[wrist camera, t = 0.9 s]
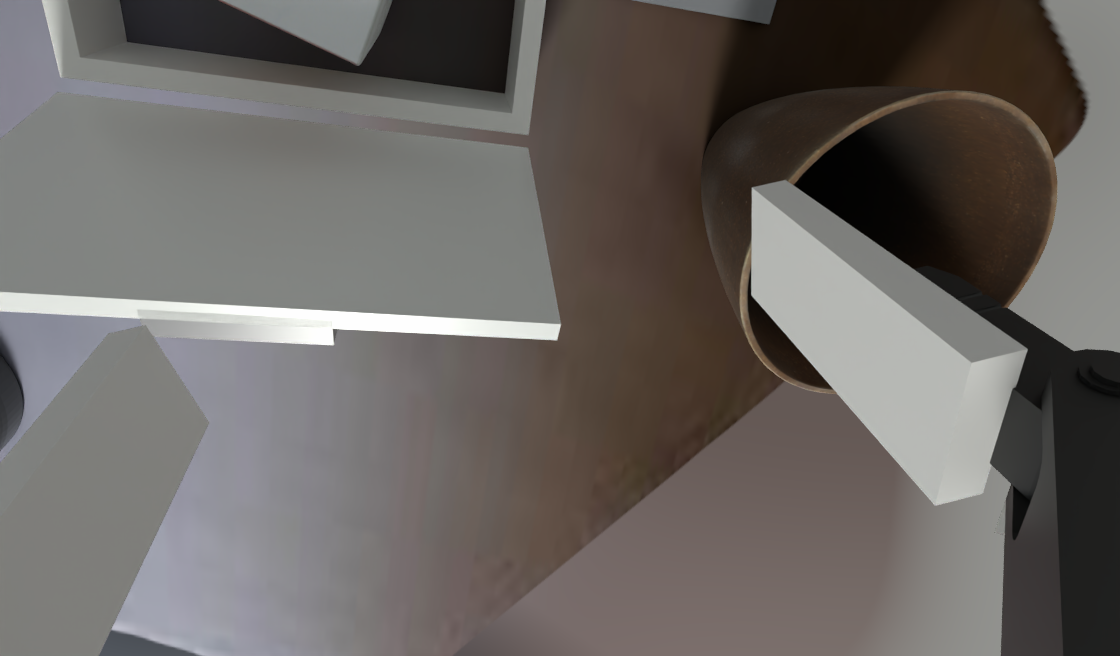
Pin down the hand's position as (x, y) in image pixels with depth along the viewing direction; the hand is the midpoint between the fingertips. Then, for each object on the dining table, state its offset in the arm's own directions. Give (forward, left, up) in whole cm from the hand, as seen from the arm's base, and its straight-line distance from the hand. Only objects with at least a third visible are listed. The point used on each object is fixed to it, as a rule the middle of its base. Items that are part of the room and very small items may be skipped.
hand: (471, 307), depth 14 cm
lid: (-7, -3, -14) cm, 16 cm away
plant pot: (+20, -2, -27) cm, 34 cm away
